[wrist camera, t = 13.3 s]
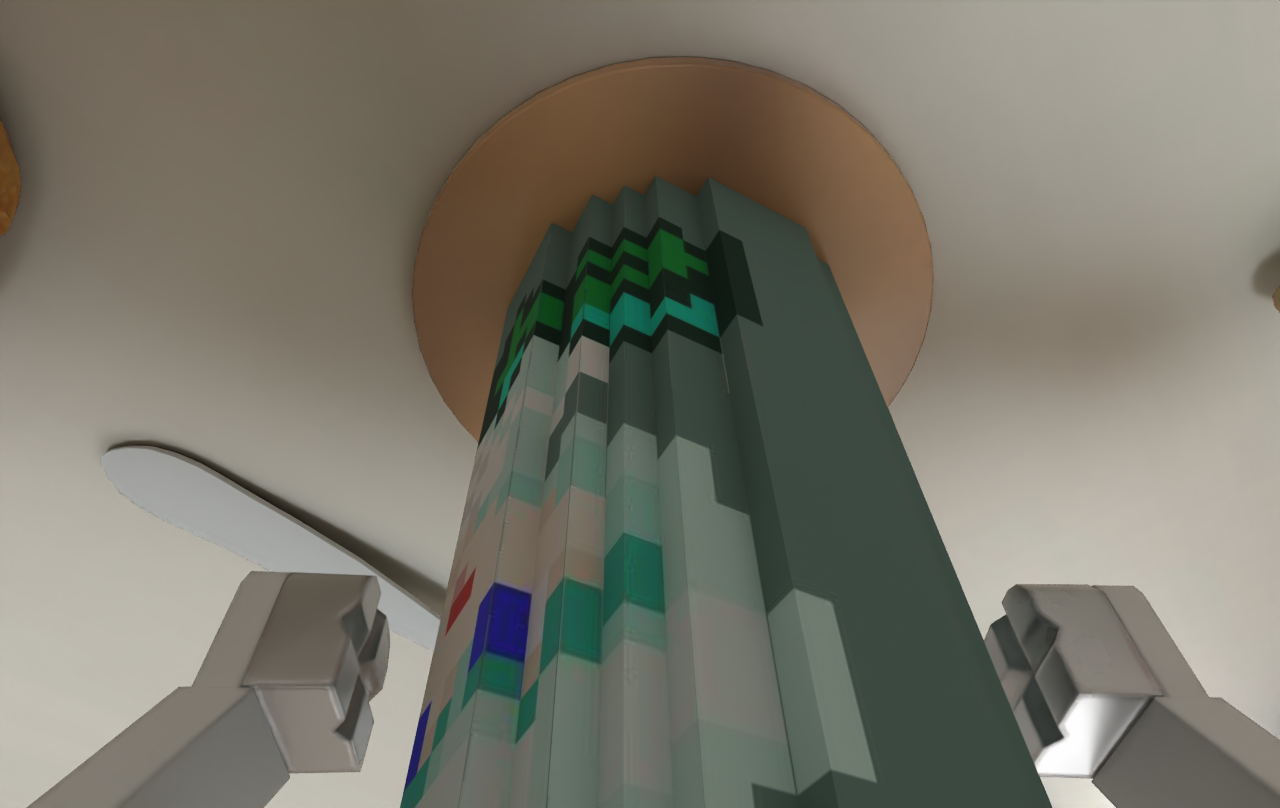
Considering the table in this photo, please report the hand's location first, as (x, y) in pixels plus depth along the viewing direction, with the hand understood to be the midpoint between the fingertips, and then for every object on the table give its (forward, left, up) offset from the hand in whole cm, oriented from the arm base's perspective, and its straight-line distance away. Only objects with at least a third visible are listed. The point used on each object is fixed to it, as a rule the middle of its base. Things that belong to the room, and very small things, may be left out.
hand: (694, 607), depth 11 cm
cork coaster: (0, 0, -7) cm, 7 cm away
